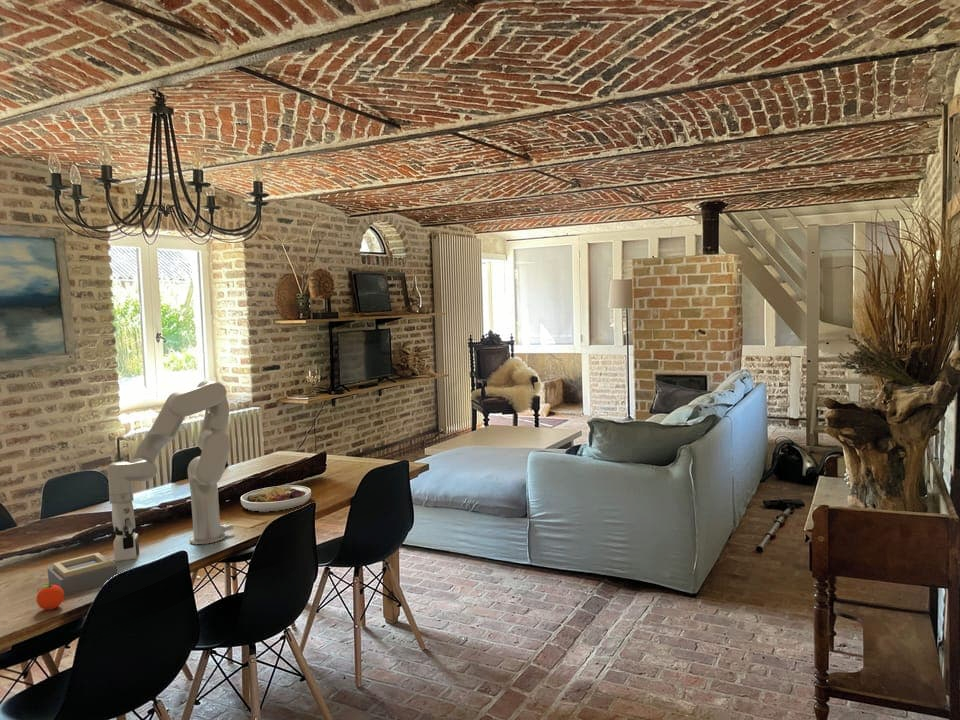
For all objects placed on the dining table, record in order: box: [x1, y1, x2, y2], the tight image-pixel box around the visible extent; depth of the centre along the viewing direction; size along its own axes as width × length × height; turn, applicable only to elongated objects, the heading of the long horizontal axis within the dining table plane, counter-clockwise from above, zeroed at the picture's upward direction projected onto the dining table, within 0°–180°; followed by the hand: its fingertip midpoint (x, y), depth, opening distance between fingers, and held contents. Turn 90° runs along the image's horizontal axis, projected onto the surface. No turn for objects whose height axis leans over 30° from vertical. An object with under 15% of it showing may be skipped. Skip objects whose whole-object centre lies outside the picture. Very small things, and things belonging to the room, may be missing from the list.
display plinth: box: [46, 552, 119, 596], centre depth 225 cm, size 16×16×6 cm
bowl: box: [240, 484, 312, 513], centre depth 312 cm, size 30×30×8 cm
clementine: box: [35, 584, 65, 611], centre depth 205 cm, size 8×7×7 cm
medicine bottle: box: [112, 527, 140, 562], centre depth 248 cm, size 7×7×12 cm
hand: (124, 545), depth 248 cm, fingers closed on medicine bottle, 9 cm apart
